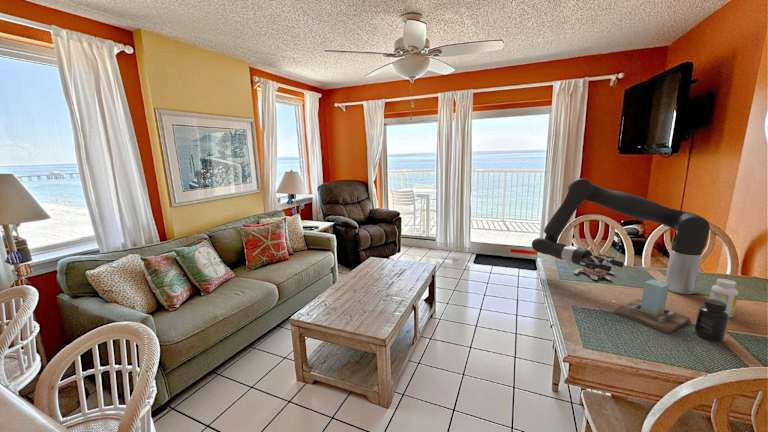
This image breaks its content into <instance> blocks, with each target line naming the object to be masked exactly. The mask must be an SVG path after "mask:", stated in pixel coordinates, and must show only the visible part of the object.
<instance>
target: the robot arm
mask: <svg viewBox="0 0 768 432" xmlns="http://www.w3.org/2000/svg"><path fill="white" fill-rule="evenodd" d="M584 201H587V202H590V203H594V204H597V205H600V206H602V207H603V208H606V209H609V210H610V211H614V212H616V213H618V214H621V215H624V216H627V217H630V218H634V219H638V220H642V221H643V220H644V221H648V222H654V223H657V224H661V225H663V226H666V227H668V228H671V229H672V230H675V231H677V232H676V235H675V241H674V242H673V243H672V244H671V248H670V254H669V258H668V265H667V269H666V276H665V281H664V283H667V284H669V288H668V291H670V292H673V293H676V294H679V295H680V294H681V295H692V294H694V295H695V294H698V288H699V283H700V278H701V275H702V274H701V272H700V264H701V258H702V254H703V250H705V248H706V245H707V242H708V239H709V234H710V229H711V227H710V223H709V221H708V220H707V219H706V218H704V217H703V216H701V215H699V214H696V213H692V212H688V211H683V210H679V209H674V208H671V207H668V206H664V205H662V204H659V203H657V202H655V201H652V200H649V199H647V198H644V197H642V196H638V195H635V194H632V193H628V192H623V191H618V190H613V189H612V190H611V189H606V188H604V187H600V186H597V185H595V184H594V183H593V184H592V182H591V181H590V180H588V179H587V178H577V179H575V180H572V181H571V182H570V183H569V184H568V186H567V193H566V196H565V198H564V200H563V202H561V205H560V206H559V208H558V209H557V211H556V212H555V213H554V214H553V215H552V217H551V218H550V219H549V221H548V223H547V224H546V225H545V228H544V229H543V232H544V234H545V237H544V238H543V237H537V238H535V239H533V240H532V243H531V247H532V249H533V251H535V252H537V253H540V254H541V255H547V256H552V257H554V258H555V259H558V260H559V259H560V260H562V261H565V262H567V263H570V264H574V265H575V266H580V267H582V268H583V267H586V268H589V269H592V270H595V269H601V270H604V271H608V272H612V266H615V267H618V268H623V267H624V265H625V264H624V262H623V261H621V260H618V259H617V260H616V259H615V257H614V256H610V255H607V254H601V253H598V254H594V255H593V254H592V252H591V251H590V250H589V249H586V248H582V247H578V246H574V245H569V244H564V243H559V242H558V241H559V237H560V235H561V234H562V232H563V231H564V229H565V228H566V226H567V224H568V223H569V221H570V220H571V218H572V216H573V215H574V214H575V212H576V211H577V209H578V208H579V207H580V206H581V204H582V203H583V202H584ZM611 265H612V266H611ZM590 266H592V267H590Z"/></svg>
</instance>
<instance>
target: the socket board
mask: <svg viewBox="0 0 768 432" xmlns="http://www.w3.org/2000/svg"><path fill="white" fill-rule="evenodd" d="M641 302H642V299H639V298H638V299H635V300H633V301H631V302H628V303H626V304H623V305H621V306H618V307H616V308H615V309H614V313H616V314H618V313H619V315H621V314H622V315H621V316H623V315H625V316H624V317H626V316H627V317H626V318H628V317H629V319H631V318H632V319H631V320H633V319H634V321H635V320H636V321H635V322H638V323H640V324H643V325H646V326H648V327H650V328H652V329H655V330H658V331H660V332H662V333H665V334H666V335H667V334H669V333H671V332H673V331H674V330H677V329H678V327H679V328H680V327H683V326H684V325H685V324H688V323H689V322H691V320H692V319H691V317H689V316H687V315H684V314H681V313H677V312H675V311H673V310H670V309H668V308H665V310H664V315H662V316H660V317H658V316H655V315H653V314H650V313H647V312H645V311H642V310H640V308H641Z"/></svg>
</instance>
